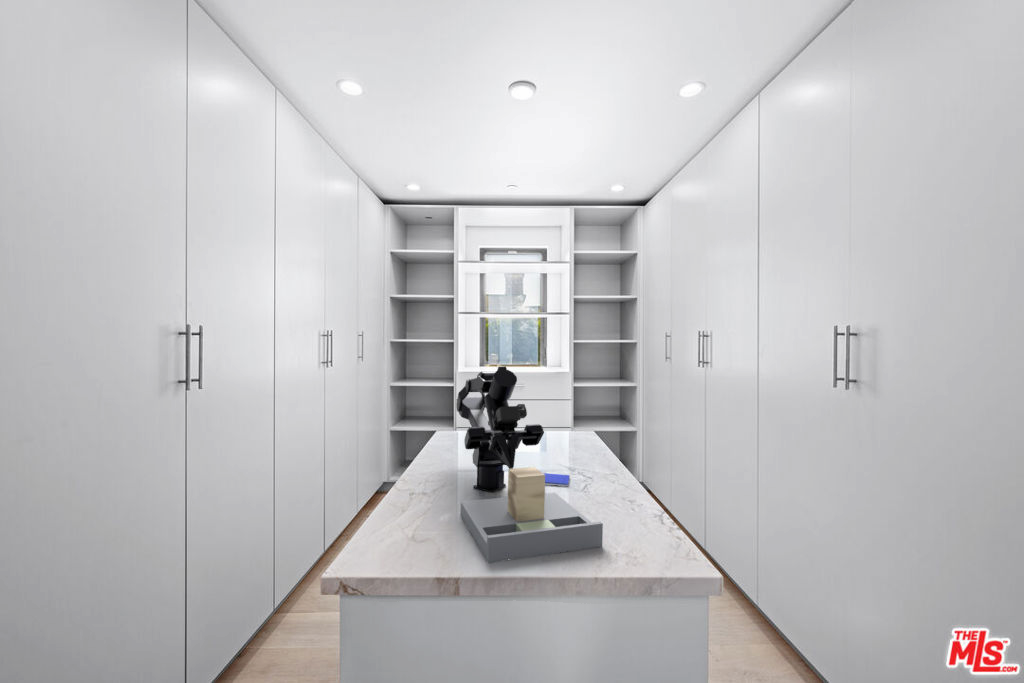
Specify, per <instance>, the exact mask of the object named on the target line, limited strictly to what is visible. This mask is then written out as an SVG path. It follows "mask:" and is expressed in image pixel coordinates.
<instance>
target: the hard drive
mask: <svg viewBox="0 0 1024 683" xmlns="http://www.w3.org/2000/svg"><path fill="white" fill-rule="evenodd" d="M542 473H543V474H545V486H549V485H559V486H558V487H562V486H568V487H569V484H570V483H569V482H570V478H571V477H570V476H571V475H568V474H561V473H559V474H557V473H545V472H542Z"/></svg>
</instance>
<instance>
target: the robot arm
mask: <svg viewBox="0 0 1024 683" xmlns="http://www.w3.org/2000/svg"><path fill="white" fill-rule="evenodd" d="M476 376H477V377H474V378H469V379H466V380H465V385H464V386H463V388H462V389H460V391H459V392H458V393H457V399H456V403H455V404H456V412H457V413H458V415H459V416H460V417H461V418H463V419H465V420H468V422H469V425H471V426H469V428H468V429H467V431H466V433H465V436H464V442H463V443H464V447H465V449H466V450H473V453H472V464H474V466H475V467H476V484H474V485H472V486H473V489H477V490H481V491H485V492H491V493H494V492H496V491H498V490H500V489H503V488H505V487H506V486H507V484H506V483H505V470H504V466H506V467H507V468H508V469H514V467H515V458H516V451H517V449H519V446H520V444H521V443H522V444H523V445H525V446H526V447H527V446H537V445H539V444H540V441H541V439H542V438H543V436H544V434H545V431H544V430H545V429H544V428H543V426H542V425H541V424H540V423H537V424H536V423H535V424H532V423H531V424H525V425H524V426H525V427H524V428H523V429H521V430H516V428H518V425H519V424H518V421H520V420H521V419H524V418H527V417H528V416H527V415H528V411H527V408H526V405H525V403H518V404H516V405H511V406H510V405H509V403H508V402H509V401H508V400H509V399H511V397H512V394H513V393H514V390H515V388H516V384H517V382H518V377H517V375H516V374H515V373H514V372H513V371H511V370H509V369H507V366H501V365H500V366H498V367H497V370H496V371H480V372H479V373H478V374H477V375H476ZM470 393H480V394H481V396H480V395H477V396H476V395H475V396H468V395H469V394H470ZM485 394H486V395H485ZM485 409H486V414H487V416H486V415H485V413H484V410H485Z"/></svg>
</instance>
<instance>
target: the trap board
mask: <svg viewBox="0 0 1024 683" xmlns="http://www.w3.org/2000/svg"><path fill="white" fill-rule="evenodd" d="M461 516H462V517H461ZM460 517H461V518H462V520H463V522H464V521H465V522H464V523H466V524H465V525H466V528H467V529H468V528H469V529H468V531H469V530H470V531H469V532H470V534H471V533H472V534H471V536H472V535H473V536H472V537H473V539H474V541H475V540H476V541H475V543H476V542H477V543H476V545H477V546H478V548H479V549H481V550H480V551H481V553H482V555H483V554H484V555H483V557H484V556H485V557H484V558H485V560H486V562H487V561H488V562H487V563H488V564H489V563H490V562H491V563H497V562H496V561H498V562H503V561H502V560H505V561H509V560H508V559H512V560H519V559H525V558H532V557H539V556H546V555H553V554H554V555H555V554H558V553H559V554H561V553H566V552H567V551H568V552H574V551H581V550H586V549H587V550H588V549H595V548H601V547H603V533H604V532H603V531H604V530H603V529H604V526H603V525H604V524H603V522H602V521H593V522H592V521H591V520H590V519H588V518H587V517H586V516H584V514H582V513H581V512H580V511H578V510H577V509H576V508H575V507H573V506H572V505H571V504H570V503H568V502H567V501H566V500H565V499H563V498H562V497H561V496H560V495H558V493H556V492H545V506H544V518H543V519H534V520H526V521H516V520H515V519H514V518H513V516H512V515H511V514H510V513H509V512H508V496H505V497H496V498H494V497H493V498H484V499H473V500H463V501H460ZM560 552H561V553H560ZM568 552H567V553H568ZM518 558H519V559H518ZM491 563H490V564H491Z"/></svg>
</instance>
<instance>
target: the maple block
mask: <svg viewBox="0 0 1024 683" xmlns="http://www.w3.org/2000/svg"><path fill="white" fill-rule="evenodd" d="M507 470H508V474H507V477H508V478H507V497H508V512H509V513H510V514H511V515H512V516H513V518H514V519H515V520H516V521H526V520H534V519H543V518H544V506H545V493H546V485H545V474H543V473H544V472H542V471H541V470H539V469H538V468H537V467H535V466H531V467H530V466H528V467H515V468H513V469H509V468H508V469H507Z"/></svg>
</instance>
